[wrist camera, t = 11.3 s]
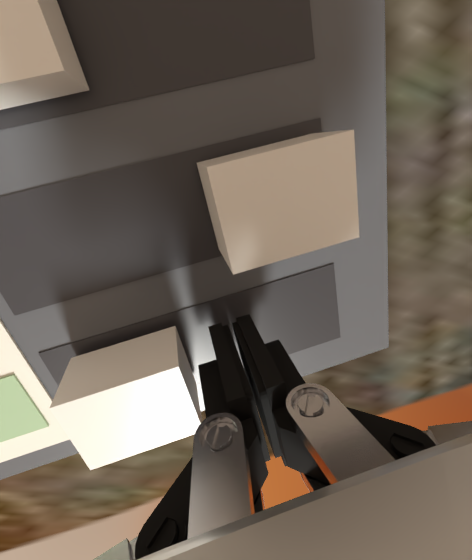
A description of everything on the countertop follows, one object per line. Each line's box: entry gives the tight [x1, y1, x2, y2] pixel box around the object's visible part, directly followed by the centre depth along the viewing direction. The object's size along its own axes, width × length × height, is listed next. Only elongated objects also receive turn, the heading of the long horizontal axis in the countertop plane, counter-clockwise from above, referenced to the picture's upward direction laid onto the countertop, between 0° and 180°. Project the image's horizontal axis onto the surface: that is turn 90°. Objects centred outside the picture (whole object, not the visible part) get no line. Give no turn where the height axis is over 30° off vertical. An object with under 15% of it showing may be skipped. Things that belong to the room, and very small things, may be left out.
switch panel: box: [0, 0, 389, 480], centre depth 11 cm, size 20×18×2 cm
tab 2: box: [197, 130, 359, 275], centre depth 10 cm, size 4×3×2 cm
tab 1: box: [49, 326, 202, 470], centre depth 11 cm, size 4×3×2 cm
